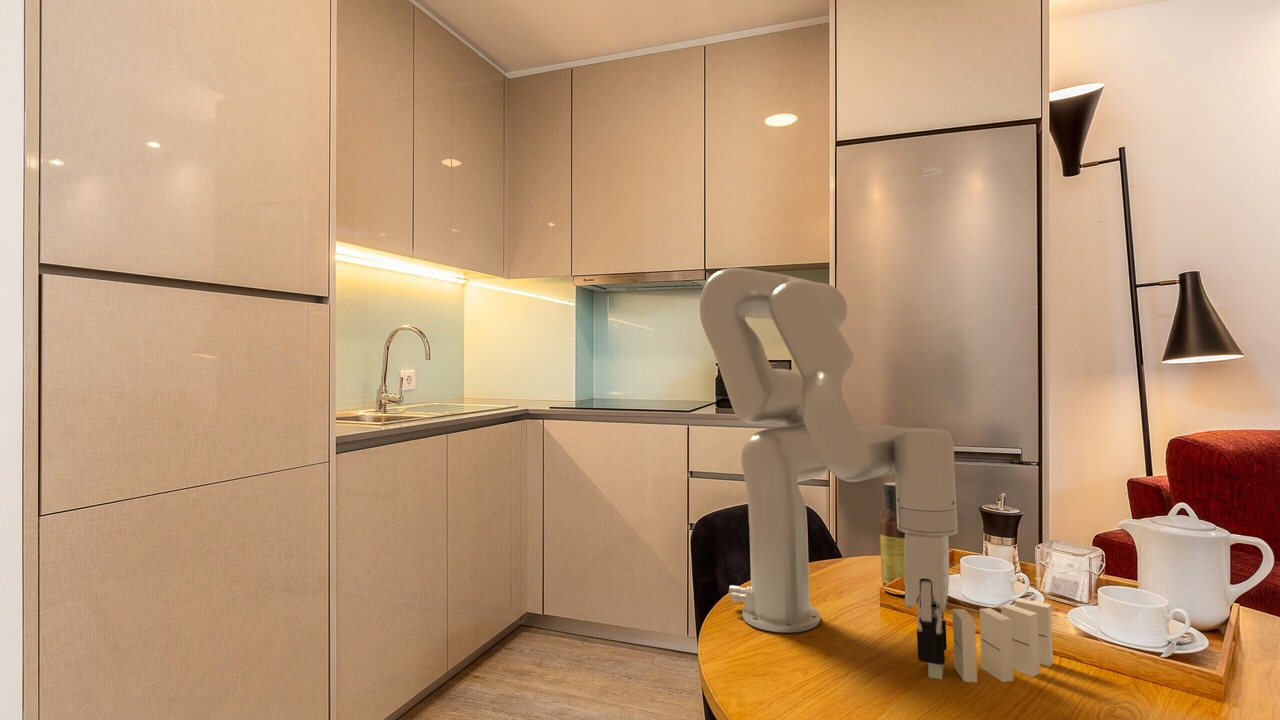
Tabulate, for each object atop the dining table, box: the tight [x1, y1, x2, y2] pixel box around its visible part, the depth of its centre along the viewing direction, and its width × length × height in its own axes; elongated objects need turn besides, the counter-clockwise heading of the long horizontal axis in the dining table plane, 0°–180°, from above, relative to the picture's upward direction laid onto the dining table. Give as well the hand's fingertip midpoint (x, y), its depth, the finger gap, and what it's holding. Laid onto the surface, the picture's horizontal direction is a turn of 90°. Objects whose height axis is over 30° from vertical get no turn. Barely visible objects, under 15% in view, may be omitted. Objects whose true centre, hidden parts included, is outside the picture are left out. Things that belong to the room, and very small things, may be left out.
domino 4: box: [1014, 597, 1054, 668], centre depth 88 cm, size 2×4×8 cm, turn 45°
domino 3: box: [1000, 603, 1041, 677], centre depth 85 cm, size 2×4×8 cm, turn 26°
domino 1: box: [952, 608, 978, 683], centre depth 84 cm, size 2×4×8 cm, turn 170°
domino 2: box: [979, 607, 1014, 683], centre depth 84 cm, size 2×4×8 cm, turn 8°
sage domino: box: [927, 607, 945, 680], centre depth 85 cm, size 2×4×8 cm, turn 151°
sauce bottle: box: [879, 481, 905, 586], centre depth 116 cm, size 6×6×20 cm
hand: (932, 653), depth 85 cm, fingers closed on sage domino, 3 cm apart
